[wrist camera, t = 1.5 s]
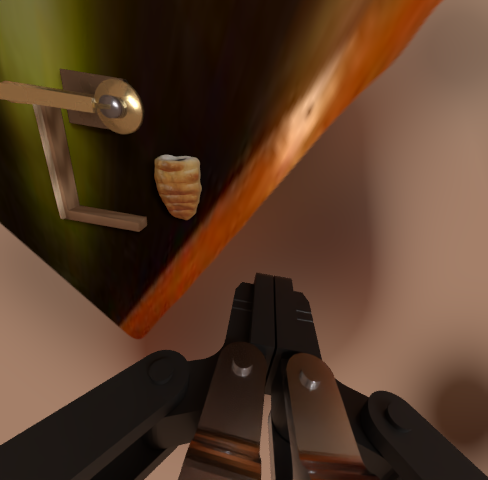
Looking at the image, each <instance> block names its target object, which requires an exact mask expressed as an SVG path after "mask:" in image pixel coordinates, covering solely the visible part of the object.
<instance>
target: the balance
mask: <svg viewBox="0 0 488 480" xmlns="http://www.w3.org/2000/svg"><path fill="white" fill-rule="evenodd" d="M60 73H61V79H62V84H63V90H61V89H55V88H49V87H42V86H36V85H30V84H23V83H17V82H10V81H3V82H2V83H0V99H4V100H8V101H10V102H12V103H25V104H37V105H44V106H50V107H57V108H64V109H67V111H68V117H69V122H70V123H75V124H81V125H87V126H93V127H98V128H104V129H110V130H112V131H114V132H116V133H119V134H130V133H133V132H135V131H137V130H138V129H139V128H140V127H141V125H142V123H143V119H144V107H143V103H142V100H141V98H140V96H139V94H138V93H137V91H136V90H135V89H134V88H133V87H132V86H131V85H129V84H128V82H127V80H125V79H120V78H114V77H108V76H102V75H96V74H90V73H84V72H78V71H71V70H65V69H60Z"/></svg>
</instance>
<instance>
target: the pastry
mask: <svg viewBox="0 0 488 480" xmlns="http://www.w3.org/2000/svg"><path fill="white" fill-rule="evenodd" d="M200 175H201V174H200V162H199V160H198V159H197V158H195V157H190V156H180V157H174V156H172V155H162V156H160V157H158V158H157V159H155V173H154V178H155V181H156V184H157V190H158V192H159V195H160V197H161V198H162V201H163V202H164V203H165V205H166V207H167V209H168V211H169V212H170V214H171V215H173V216H174V217H176V218H180V219H184V220H188V219H190V218H191V217H192V216H193V215H194V214H195V213H196V209H197V205H198V203H199V198H200V193H201V190H202V187H201V184H200Z"/></svg>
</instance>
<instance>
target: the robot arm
mask: <svg viewBox="0 0 488 480" xmlns="http://www.w3.org/2000/svg"><path fill="white" fill-rule="evenodd" d="M264 394H268V395H271V411H270V413H269V416H268V433H269V450H270V467H271V480H488V477H487V476H486V475H485V474H484V473H483V472H482V471H480V470H479V469H478V468H477V467H476V466H475V465H474V464H473V463H472V462H471V461H470V460H469V459H468V458H467V457H465V456H464V455H463V454H462V453H461V452H460V451H459V450H458V449H457V448H456V447H455V446H454V445H453V444H451V443H450V442H449V441H448V440H447V439H446V438H445V437H444V436H443V435H442V434H440V432H438V431H437V430H436V429H435V428H434V427H433V426H432V425H431V424H430V423H429V422H428V421H427V420H426V419H425V418H423V417H422V416H421V415H420V414H419V413H418V412H417V411H416V410H415V409H414V408H412V407H411V406H410V405H409V404H408V403H407V402H406V401H405V400H403V399H402V398H400V397H399V396H397V395H395V394H393V393H390V392H387V391H376V392H374V393H372V394H371V395H370V397H367V396H365V395H363V394H361V393H359V392H357V391H355V390H353V389H351V388H349V387H347V386H345V385H344V384H342V383H341V382H339V381H338V380H337V379H335V378H334V375H333V373H332V371H331V369H330V368H329V367H328V366H327V365H326V364H325V363H324V362H323V361H322V358H321V354H320V349H319V345H318V340H317V336H316V331H315V327H314V323H313V318H312V314H311V309H310V305H309V302H308V300H307V299H306V297H305V296H304V295H303V293H301V292H296V291H293V286H292V280H291V279H290V278H285V277H279V276H274V277H273V276H272V275H267V274H262V273H256V275H255V280H254V284H250V283H245V282H242V283H241V284H240V285H239V286H238V287H237V288H236V291H235V295H234V300H233V305H232V310H231V315H230V320H229V325H228V330H227V335H226V339H225V343H224V345H223V347H222V348H221V349H220V350H219V351H218V352H217V353H216V354H215V355H213V356H211V357H209V358H206V359H201V360H193V361H186V359H185V358H184V357H183V356H182V355H181V354H180V353H178V352H176V351H172V350H161V351H157V352H154V353H152V354H150V355H148V356H146V357H145V358H143V359H142V360H140V361H138V362H137V363H135V364H133V365H132V366H130V367H128V368H127V369H125V370H124V371H122V372H120V373H119V374H117V375H115V376H114V377H112V378H110V379H109V380H107V381H105V382H104V383H102V384H100V385H99V386H97V387H96V388H94V389H92V390H91V391H89V392H87V393H86V394H84V395H83V396H81V397H79V398H78V399H76V400H74V401H73V402H71V403H69V404H68V405H66V406H64V407H63V408H61V409H59V410H58V411H56V412H55V413H53V414H51V415H50V416H48V417H46V418H45V419H43V420H41V421H40V422H38V423H36V424H35V425H33V426H31V427H30V428H28V429H26V430H25V431H24V432H22V433H20V434H18V435H17V436H15V437H14V438H12V439H10V440H8V441H7V442H5V443H4V444H2V445H0V480H144V479H145V478H146V477H147V476H148V475H149V474H150V473H151V472H152V471H153V470H154V469H155V468H156V467H157V466H158V465H159V464H160V463H161V462H162V461H163V460H164V459H166V457H168V456H169V455H170V454H171V453H172V452H173V451H174V450H175V449H176V448H177V446H178V445H182V444H186V443H190V442H191V443H190V445H189V448H188V450H187V453H186V456H185V459H184V462H183V466H182V469H181V472H180V475H179V478H178V480H261V458H260V455H259V451H260V436H261V426H262V415H263V404H264Z"/></svg>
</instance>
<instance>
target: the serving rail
mask: <svg viewBox="0 0 488 480" xmlns="http://www.w3.org/2000/svg"><path fill="white" fill-rule="evenodd" d="M33 107H34V111H35V116H36V120H37V124H38V128H39V132H40V136H41V140H42V144H43V149H44V153H45V157H46V161H47V165H48V169H49V173H50V177H51V181H52V186H53V190H54V194H55V198H56V202H57V206H58V210H59V214H60V218H61V219H70V220H76V221H81V222H87V223H93V224H98V225H104V226H110V227H115V228H121V229H127V230H132V231H138V232H140V231H141V230H142V229H143V228H144V227H146V226H147V218H146V217H143V216H137V215H132V214H126V213H120V212H114V211H109V210H103V209H97V208H92V207H86V206H80V205H79V200H78V195H77V190H76V185H75V180H74V175H73V170H72V164H71V159H70V154H69V149H68V144H67V139H66V134H65V129H64V124H63V119H62V113H61V108H57V107H50V106H44V105H37V104H33Z"/></svg>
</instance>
